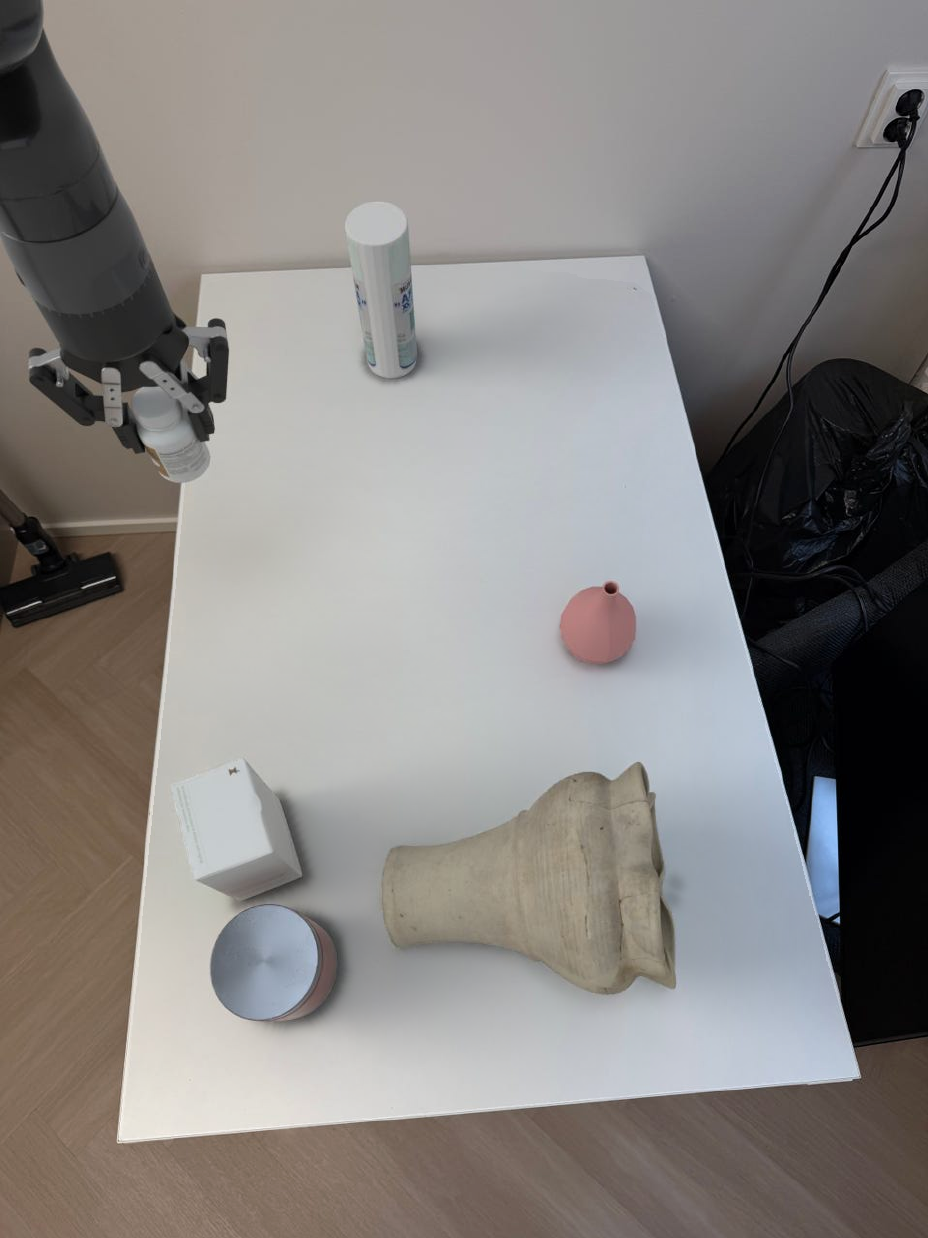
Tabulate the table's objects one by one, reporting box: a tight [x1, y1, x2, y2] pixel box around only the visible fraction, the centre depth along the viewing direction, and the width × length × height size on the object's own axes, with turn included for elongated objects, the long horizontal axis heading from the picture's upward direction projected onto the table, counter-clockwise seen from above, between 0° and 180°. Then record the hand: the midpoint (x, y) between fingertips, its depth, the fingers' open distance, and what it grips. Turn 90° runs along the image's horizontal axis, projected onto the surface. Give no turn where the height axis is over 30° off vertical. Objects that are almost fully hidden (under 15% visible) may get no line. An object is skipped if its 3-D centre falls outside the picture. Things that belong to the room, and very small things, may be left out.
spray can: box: [344, 200, 418, 379], centre depth 95 cm, size 6×6×20 cm
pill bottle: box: [130, 386, 211, 484], centre depth 66 cm, size 4×4×8 cm
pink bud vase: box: [559, 580, 637, 665], centre depth 83 cm, size 8×8×12 cm
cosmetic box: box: [169, 756, 303, 902], centre depth 72 cm, size 8×7×16 cm
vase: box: [380, 761, 677, 996], centre depth 71 cm, size 22×22×28 cm
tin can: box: [209, 903, 339, 1022], centre depth 70 cm, size 8×8×11 cm
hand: (171, 438), depth 67 cm, fingers closed on pill bottle, 4 cm apart
